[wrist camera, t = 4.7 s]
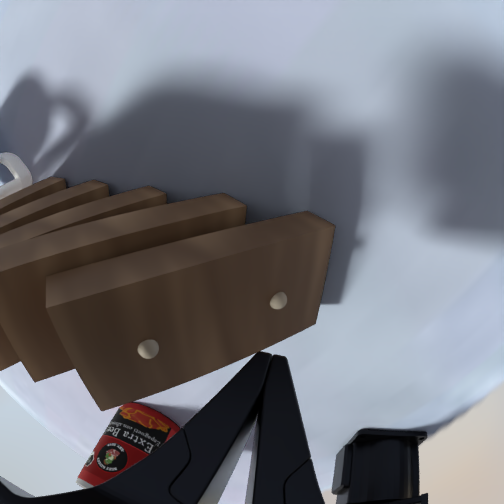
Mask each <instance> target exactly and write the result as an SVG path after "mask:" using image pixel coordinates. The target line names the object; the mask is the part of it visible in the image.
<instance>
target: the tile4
mask: <svg viewBox="0 0 504 504" xmlns="http://www.w3.org/2000/svg"><path fill="white" fill-rule="evenodd" d="M106 197H109V188H108V185H107V184H105V183H102V182H99V181H96V180H91V181H88V182H85V183H82V184H79V185H76V186H73V187H70V188H67V189H65V190H62V191H59V192H56V193H54V194H51V195H48V196H46V197H43V198H41V199H38V200H35V201H33V202H30V203H28V204H26V205H23V206H21V207H18V208H16V209H14V210H11V211H9V212H7V213H4V214H2V215H0V234H3V233H5V232H8V231H10V230H13V229H15V228H18V227H21V226H23V225H26V224H28V223H31V222H34V221H37V220H39V219H42V218H45V217H48V216H51V215H53V214H56V213H59V212H62V211H65V210H68V209H71V208H74V207H77V206H80V205H83V204H87V203H90V202H93V201H96V200H99V199H103V198H106Z"/></svg>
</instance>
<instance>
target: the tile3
mask: <svg viewBox="0 0 504 504" xmlns="http://www.w3.org/2000/svg"><path fill="white" fill-rule="evenodd" d="M165 204H167V196H166V193H164V192H162V191H160V190H157V189H155V188H153V187H151V186H145V187H142V188H138V189H134V190H130V191H127V192H123V193H120V194H116V195H113V196H109V197H106V198H103V199H99V200H96V201H93V202H90V203H87V204H83V205H80V206H77V207H74V208H71V209H68V210H65V211H62V212H59V213H56V214H53V215H51V216H48V217H45V218H42V219H39V220H37V221H34V222H31V223H28V224H26V225H23V226H21V227H18V228H15V229H13V230H10V231H8V232H5V233H3V234H0V248H3V247H6V246H9V245H12V244H15V243H18V242H22V241H25V240H28V239H31V238H35V237H38V236H41V235H45V234H48V233H52V232H55V231H59V230H62V229H66V228H70V227H73V226H77V225H81V224H85V223H89V222H92V221H96V220H100V219H104V218H108V217H112V216H116V215H121V214H125V213H129V212H133V211H138V210H142V209H146V208H151V207H156V206H160V205H165ZM20 361H21V360H20V359H19V357H18V355H17V353H16V352H15V350H14V348H13V347H12V345H11V343H10V341H9V339H8V337H7V336H6V334H5V332H4V330H3V328H2V326H1V324H0V371H2V370H4V369H6V368H8V367H10V366H12V365H14V364H16V363H18V362H20Z"/></svg>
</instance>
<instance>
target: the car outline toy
mask: <svg viewBox="0 0 504 504" xmlns="http://www.w3.org/2000/svg"><path fill="white" fill-rule="evenodd" d="M0 163H1V164H3V165H5V166H6V167H7V168H8V169H9V170H10V172H11V173H12V174H13V176H14V177H15V179H14V180H12V181H10V182H8V183H6V184H4V185H2V186H0V200H1V199H3V198H5V197H7V196H9V195H11V194H13V193H15V192H17V191H19V190H22V189H24V188H26V187H28V186H30V185H32V175H31V173H30V171H29V169H28V168H27V167H26V166H25V164H24V163H23V162H22V160H21V159H20V158H19V157H18V156H17V155H15V154H13V153H8V152H4V153H0Z"/></svg>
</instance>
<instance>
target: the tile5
mask: <svg viewBox="0 0 504 504" xmlns="http://www.w3.org/2000/svg"><path fill="white" fill-rule="evenodd" d="M65 189H66V182H65V179H63V178H57V177H49V178H47V179H44V180H42V181H40V182H37V183H35V184H33V185H30V186H28V187H26V188H24V189H22V190H19V191H17V192H15V193H13V194H11V195H9V196H7V197H5V198H3V199H1V200H0V215H2V214H4V213H7V212H9V211H11V210H14V209H16V208H18V207H21V206H23V205H26V204H28V203H30V202H33V201H35V200H38V199H41V198H43V197H46V196H48V195H51V194H54V193H56V192H59V191H62V190H65Z"/></svg>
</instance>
